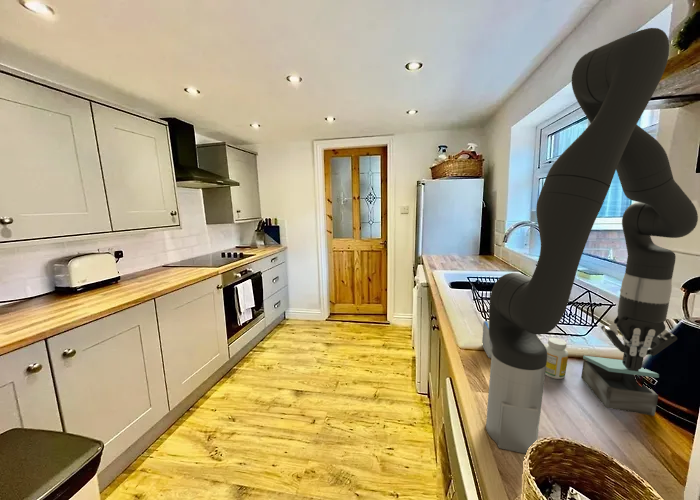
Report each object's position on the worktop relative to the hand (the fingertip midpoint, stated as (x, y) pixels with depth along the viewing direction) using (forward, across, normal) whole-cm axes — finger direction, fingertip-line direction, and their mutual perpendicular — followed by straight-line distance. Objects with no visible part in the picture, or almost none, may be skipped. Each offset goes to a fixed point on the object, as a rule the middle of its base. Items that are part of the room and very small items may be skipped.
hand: (631, 369), depth 66 cm
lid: (+2, 0, +5) cm, 5 cm away
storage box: (+9, 0, +4) cm, 10 cm away
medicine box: (+10, -25, +18) cm, 32 cm away
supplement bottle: (+10, -11, +10) cm, 18 cm away
